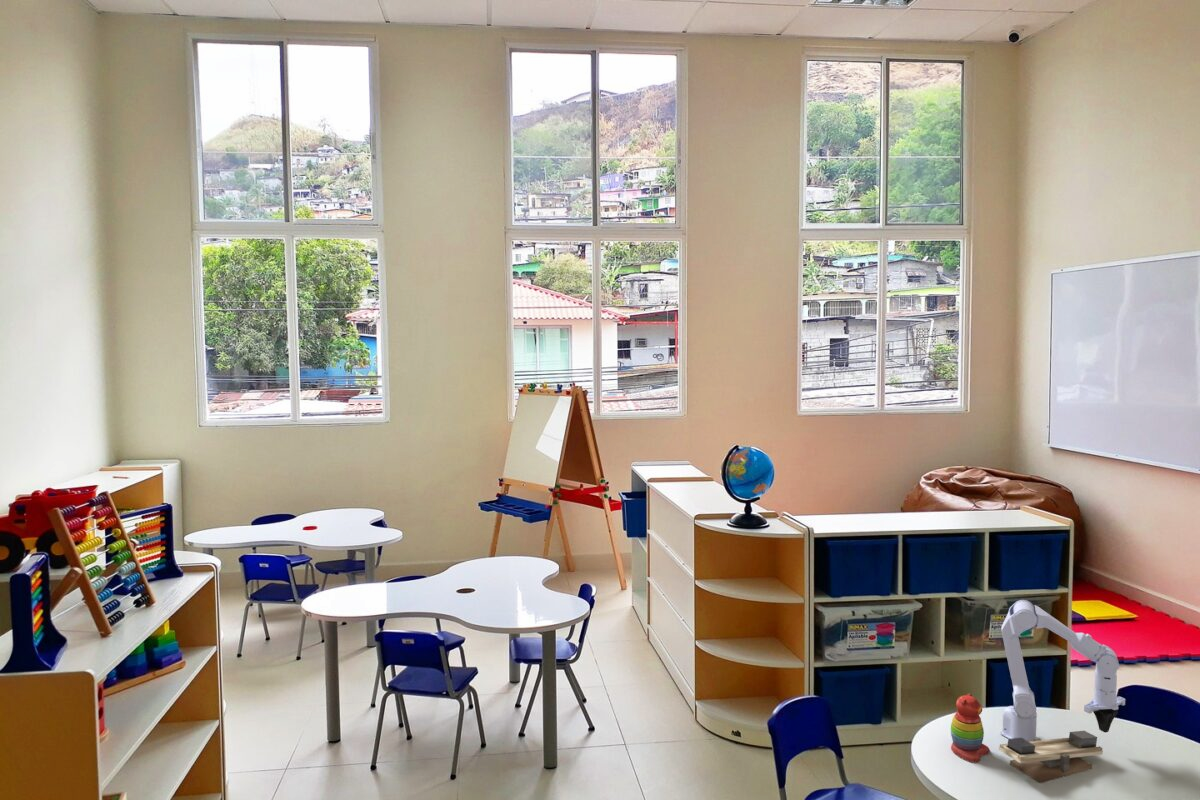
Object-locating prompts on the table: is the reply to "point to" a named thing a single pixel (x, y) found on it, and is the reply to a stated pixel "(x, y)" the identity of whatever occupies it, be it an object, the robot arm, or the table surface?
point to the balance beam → (1050, 751)
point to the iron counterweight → (1021, 746)
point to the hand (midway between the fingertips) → (1103, 730)
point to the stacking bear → (968, 730)
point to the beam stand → (1052, 767)
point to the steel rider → (1082, 739)
